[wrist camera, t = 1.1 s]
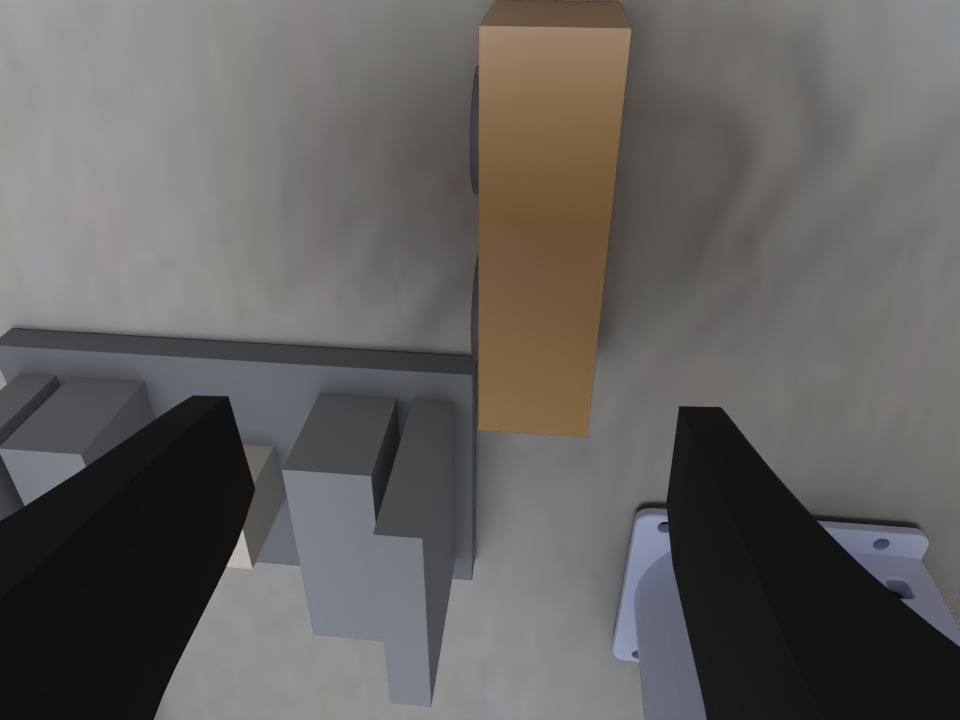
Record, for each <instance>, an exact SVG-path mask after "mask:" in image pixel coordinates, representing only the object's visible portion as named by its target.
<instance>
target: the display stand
mask: <svg viewBox="0 0 960 720" xmlns="http://www.w3.org/2000/svg"><path fill="white" fill-rule="evenodd" d="M0 368H1V371H2V373H3V375H4V378H5V380H6V382H7V385H6V386H5V387H4V388H2V389H1V390H0V521H1V520H3V519H4V518H6V517H8V516H9V515H11V514H13V513H14V512H16V511H18V510H19V509H21V508H23V507H24V506H26V505H27V504H29V503H30V502H32V501H34V500H35V499H37V498H38V497H40V496H41V495H43V494H45V493H46V492H48V491H49V490H51V489H52V488H54V487H56V486H57V485H59V484H60V483H62V482H63V481H65V480H67V479H68V478H70V477H71V476H73V475H75V474H76V473H78V472H79V471H81V470H82V469H84V468H85V467H87V466H88V465H90V464H91V463H92V462H94V461H95V460H97V459H98V458H100V457H101V456H103V455H104V454H106V453H107V452H109V451H110V450H111V449H113V448H114V447H116V446H117V445H119V444H120V443H122V442H123V441H125V440H126V439H128V438H129V437H130V436H132V435H133V434H135V433H136V432H138V431H139V430H141V429H142V428H143V427H145V426H146V425H148V424H149V423H151V422H152V421H154V420H155V419H157V418H158V417H160V416H161V415H163V414H164V413H166V412H167V411H169V410H170V409H172V408H173V407H175V406H176V405H178V404H179V403H181V402H183V401H184V400H186V399H188V398H190V397H191V396H193V395H202V396H229V400H230V403H231V407H232V410H233V413H234V417H235V420H236V424H237V427H238V431H239V434H240V438H241V441H242V444H243V448H244V451H245V455H246V458H247V462H248V465H249V469H250V472H251V475H252V479H253V482H254V486H255V492H254V496H253V499H252V502H251V505H250V508H249V511H248V514H247V518H246V521H245V523H244V526H243V529H242V532H241V535H240V537H239V540H238V543H237V545H236V547H235V549H234V552H233V554H232V556H231V558H230V560H229V562H228V564H227V566H226V567H236V568H247V569H253V567H254V564H255V562H263V563H275V564H286V565H298V566H300V567H301V572H302V577H303V582H304V587H305V593H306V598H307V603H308V608H309V614H310V619H311V624H312V629H313V635H321V636H332V637H343V638H354V639H365V640H376V641H384V646H385V656H386V665H387V675H388V684H389V694H390V703H397V704H407V705H418V706H428V707H431V704H432V698H433V692H434V686H435V680H436V674H437V668H438V662H439V656H440V649H441V643H442V637H443V631H444V625H445V619H446V613H447V607H448V601H449V594H450V588H451V582H452V579H463V580H472V576H473V568H474V561H475V425H476V361H473V358H472V356H455V355H438V354H422V353H405V352H389V351H372V350H355V349H339V348H322V347H306V346H289V345H273V344H256V343H239V342H223V341H206V340H190V339H173V338H157V337H140V336H123V335H107V334H90V333H74V332H57V331H40V330H24V329H10V330H9V331H8V332H6V333H5V334H4V335H3V336H1V337H0Z"/></svg>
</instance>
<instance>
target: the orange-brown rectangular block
mask: <svg viewBox="0 0 960 720" xmlns="http://www.w3.org/2000/svg"><path fill="white" fill-rule="evenodd" d="M631 29H632V28H631V26H630V24H629V22H628V20H627V18H626V15H625V13H624V11H623V9H622V7H621V5H620V3H619V2H603V1H537V0H496V1H495V2H494V4H493V5H492V7H491V8H490V10H489V11H488V13H487V14H486V16H485V17H484V19H483V20H482V22H481V24H480V25H479V65H478V66H477V68H476V71H475V76H474V83H473V92H472V104H471V123H470V168H471V182H472V189H473V192H474V194H479V255H478V258H477V262H476V267H475V274H474V284H473V295H472V313H471V349H472V358H473V361H479V415H478V430H482V431H497V432H512V433H527V434H542V435H558V436H573V437H587V436H588V427H589V417H590V408H591V399H592V390H593V380H594V371H595V362H596V353H597V343H598V334H599V325H600V316H601V306H602V297H603V288H604V279H605V269H606V260H607V251H608V242H609V233H610V223H611V214H612V205H613V196H614V186H615V177H616V168H617V159H618V149H619V140H620V131H621V122H622V112H623V103H624V94H625V85H626V75H627V66H628V57H629V48H630V38H631Z"/></svg>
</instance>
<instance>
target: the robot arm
mask: <svg viewBox="0 0 960 720" xmlns="http://www.w3.org/2000/svg"><path fill="white" fill-rule="evenodd" d="M254 492H255V486H254V482H253V479H252V475H251V472H250V469H249V465H248V462H247V458H246V455H245V451H244V448H243V444H242V441H241V438H240V434H239V431H238V427H237V424H236V420H235V417H234V413H233V410H232V407H231V403H230V400H229V396H202V395H193V396H191V397H190V398H188V399H186V400H184V401H183V402H181V403H179V404H178V405H176V406H175V407H173V408H172V409H170V410H169V411H167V412H166V413H164V414H163V415H161V416H160V417H158V418H157V419H155V420H154V421H152V422H151V423H149V424H148V425H146V426H145V427H143V428H142V429H141V430H139V431H138V432H136V433H135V434H133V435H132V436H130V437H129V438H128V439H126V440H125V441H123V442H122V443H120V444H119V445H117V446H116V447H114V448H113V449H111V450H110V451H109V452H107V453H106V454H104V455H103V456H101V457H100V458H98V459H97V460H95V461H94V462H92V463H91V464H90V465H88V466H87V467H85V468H84V469H82V470H81V471H79V472H78V473H76V474H75V475H73V476H71V477H70V478H68V479H67V480H65V481H63V482H62V483H60V484H59V485H57V486H56V487H54V488H52V489H51V490H49V491H48V492H46V493H45V494H43V495H41V496H40V497H38V498H37V499H35V500H34V501H32V502H30V503H29V504H27V505H26V506H24V507H23V508H21V509H19V510H18V511H16V512H14V513H13V514H11V515H9V516H8V517H6V518H4V519H3V520H1V521H0V720H154V717H155V715H156V712H157V710H158V707H159V704H160V702H161V699H162V697H163V694H164V692H165V690H166V687H167V685H168V683H169V681H170V679H171V676H172V674H173V672H174V670H175V668H176V665H177V663H178V661H179V659H180V657H181V656H182V654H183V652H184V650H185V648H186V646H187V644H188V642H189V640H190V638H191V636H192V634H193V632H194V630H195V628H196V626H197V624H198V622H199V620H200V618H201V616H202V614H203V612H204V610H205V608H206V606H207V604H208V602H209V600H210V598H211V596H212V594H213V592H214V590H215V588H216V586H217V584H218V582H219V580H220V578H221V576H222V574H223V572H224V570H225V568H226V566H227V564H228V562H229V560H230V558H231V556H232V554H233V552H234V549H235V547H236V545H237V543H238V540H239V537H240V535H241V532H242V529H243V526H244V523H245V521H246V518H247V514H248V511H249V508H250V505H251V502H252V499H253V496H254ZM666 506H667V509H656V508H646V509H643V510H640V511H639V512H638V513H636V515H635V517H634V523H633V528H632V534H631V540H630V545H629V551H628V557H627V562H626V568H625V574H624V580H623V585H622V591H621V597H620V602H619V608H618V614H617V619H616V625H615V631H614V636H613V642H612V650H613V655H614V656H615V657H616V658H618V659H620V660H626V661H637V662H639V667H640V678H641V688H642V698H643V709H644V719H645V720H960V630H959V629H958V627H957V625H956V623H955V621H954V619H953V617H952V615H951V614H950V612H949V610H948V608H947V606H946V604H945V602H944V601H943V599H942V597H941V595H940V593H939V591H938V589H937V587H936V586H935V584H934V582H933V580H932V578H931V576H930V574H929V572H928V571H927V569H926V567H925V565H924V563H923V561H922V558H923V556H924V554H925V552H926V550H927V548H928V546H929V541H928V539H927V537H926V535H925V534H924V532H923V531H921V530H920V529H916V528H908V527H895V526H881V525H868V524H855V523H842V522H828V521H817V520H816V519H815V518H814V517H813V516H812V515H811V514H810V513H809V512H808V511H807V509H806V508H805V507H804V506H803V505H802V504H801V503H800V502H799V500H798V499H797V498H796V497H795V496H794V495H793V494H792V493H791V492H790V490H789V489H788V488H787V487H786V486H785V485H784V484H783V483H782V481H781V480H780V479H779V478H778V477H777V476H776V474H775V473H774V472H773V471H772V470H771V469H770V467H769V466H768V465H767V464H766V462H765V461H764V460H763V459H762V458H761V456H760V455H759V454H758V453H757V451H756V450H755V449H754V448H753V447H752V445H751V444H750V443H749V442H748V440H747V439H746V438H745V436H744V435H743V434H742V433H741V431H740V430H739V429H738V428H737V426H736V425H735V424H734V422H733V421H732V420H731V419H730V417H729V416H728V415H727V414H726V412H725V411H724V410H723V409H722V408H721V407H686V406H679V413H678V420H677V428H676V435H675V443H674V451H673V458H672V466H671V473H670V481H669V488H668V496H667V503H666ZM662 522H668V524H660V523H662ZM878 539H881V540H878ZM876 540H877V541H876Z"/></svg>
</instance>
